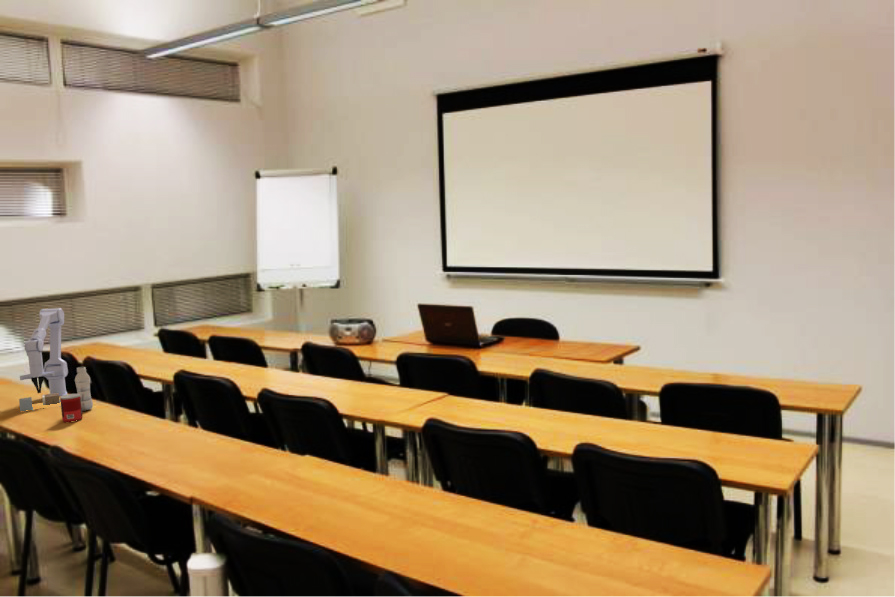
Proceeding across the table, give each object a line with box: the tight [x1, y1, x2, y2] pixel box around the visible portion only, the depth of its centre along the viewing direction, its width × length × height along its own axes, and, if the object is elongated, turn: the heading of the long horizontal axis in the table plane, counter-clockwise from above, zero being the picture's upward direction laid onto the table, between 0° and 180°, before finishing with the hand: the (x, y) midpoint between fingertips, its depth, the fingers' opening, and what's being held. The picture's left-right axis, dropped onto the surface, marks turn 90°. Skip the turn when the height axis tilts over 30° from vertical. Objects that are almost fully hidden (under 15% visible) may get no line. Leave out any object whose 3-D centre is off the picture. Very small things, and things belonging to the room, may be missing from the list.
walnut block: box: [41, 393, 60, 405], centre depth 367 cm, size 6×4×7 cm
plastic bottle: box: [74, 366, 94, 412], centre depth 349 cm, size 6×7×20 cm
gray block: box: [18, 396, 34, 412], centre depth 356 cm, size 5×5×5 cm
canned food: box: [59, 393, 83, 423], centre depth 333 cm, size 8×8×11 cm
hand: (39, 392), depth 364 cm, fingers closed
